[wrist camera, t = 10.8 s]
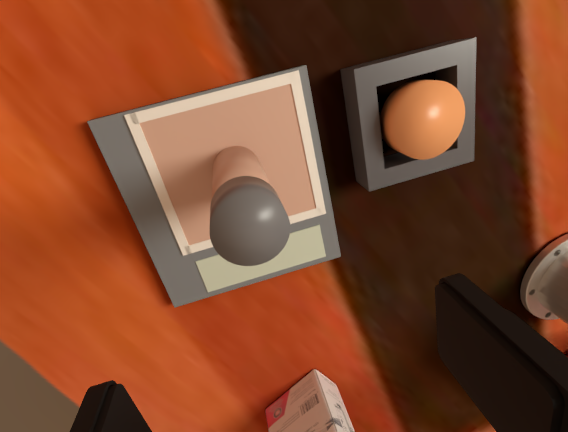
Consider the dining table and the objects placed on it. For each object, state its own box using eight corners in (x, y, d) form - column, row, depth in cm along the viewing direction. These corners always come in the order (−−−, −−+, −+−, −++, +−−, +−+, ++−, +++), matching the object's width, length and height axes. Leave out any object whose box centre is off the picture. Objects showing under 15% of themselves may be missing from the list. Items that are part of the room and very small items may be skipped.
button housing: (451, 40, 29) (476, 37, 26) (452, 153, 33) (474, 160, 30) (340, 69, 28) (353, 69, 25) (356, 181, 32) (369, 191, 30)
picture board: (303, 65, 27) (306, 65, 26) (337, 251, 35) (341, 257, 34) (91, 119, 26) (86, 121, 25) (175, 301, 34) (174, 308, 33)
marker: (254, 138, 28) (280, 183, 17) (267, 185, 30) (297, 253, 19) (204, 152, 27) (197, 206, 17) (220, 199, 29) (223, 275, 18)
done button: (444, 71, 28) (465, 71, 25) (446, 142, 30) (465, 148, 28) (376, 89, 27) (390, 91, 25) (383, 160, 30) (397, 168, 27)
